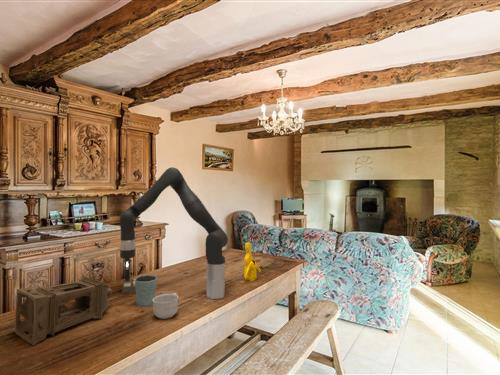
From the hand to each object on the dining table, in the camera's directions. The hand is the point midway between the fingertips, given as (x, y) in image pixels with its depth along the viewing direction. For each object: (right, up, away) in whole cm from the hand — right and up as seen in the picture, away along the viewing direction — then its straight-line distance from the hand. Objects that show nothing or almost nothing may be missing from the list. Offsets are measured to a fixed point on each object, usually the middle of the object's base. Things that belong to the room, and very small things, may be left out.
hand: (127, 280), depth 158 cm
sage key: (0, -5, 0) cm, 5 cm away
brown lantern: (-8, -6, -35) cm, 36 cm away
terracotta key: (+4, -4, +2) cm, 6 cm away
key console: (+3, -6, +4) cm, 8 cm away
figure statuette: (+65, -7, +24) cm, 70 cm away
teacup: (+29, -7, -26) cm, 39 cm away
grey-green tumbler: (+15, -6, -14) cm, 21 cm away
